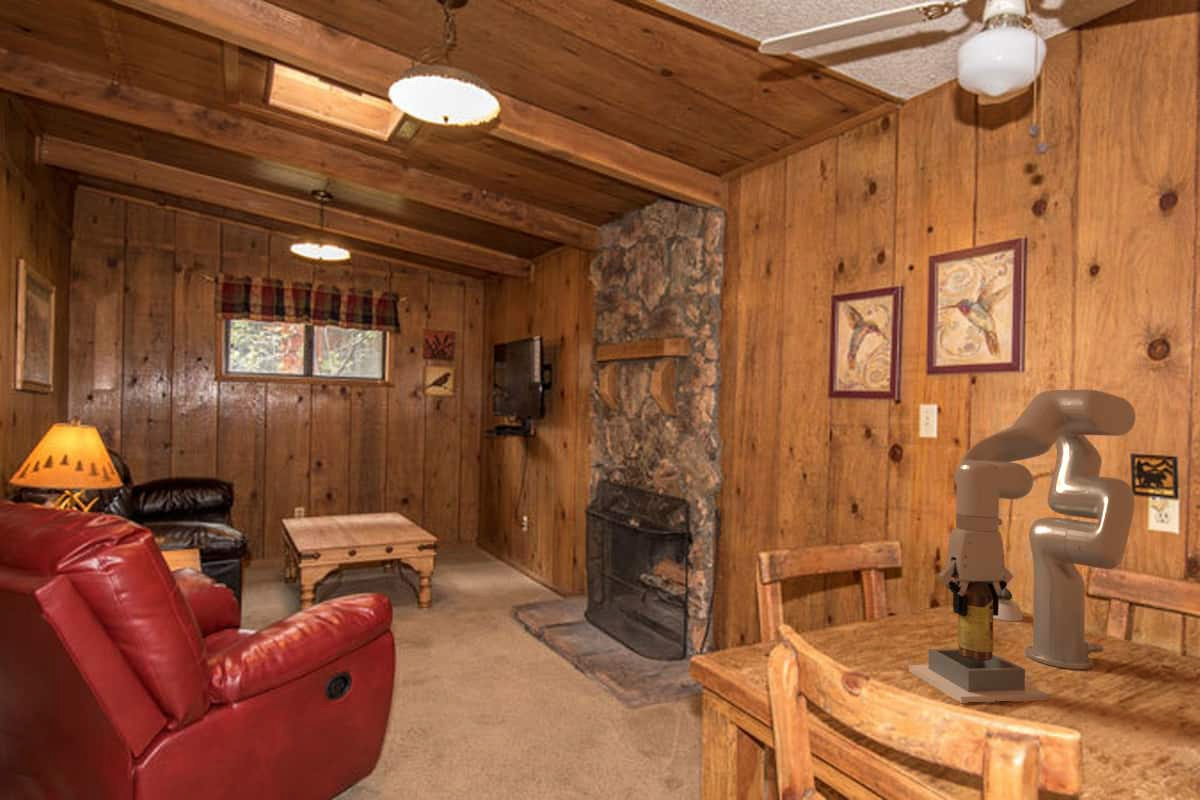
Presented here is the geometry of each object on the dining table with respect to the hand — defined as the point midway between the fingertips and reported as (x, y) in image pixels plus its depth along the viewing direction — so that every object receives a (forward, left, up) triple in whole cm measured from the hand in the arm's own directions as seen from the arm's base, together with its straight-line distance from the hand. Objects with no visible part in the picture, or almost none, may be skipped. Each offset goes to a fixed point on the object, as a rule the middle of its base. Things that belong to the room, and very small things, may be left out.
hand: (975, 613), depth 135 cm
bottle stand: (0, 0, -14) cm, 14 cm away
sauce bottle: (0, 0, -9) cm, 9 cm away
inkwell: (-40, -41, -14) cm, 59 cm away
